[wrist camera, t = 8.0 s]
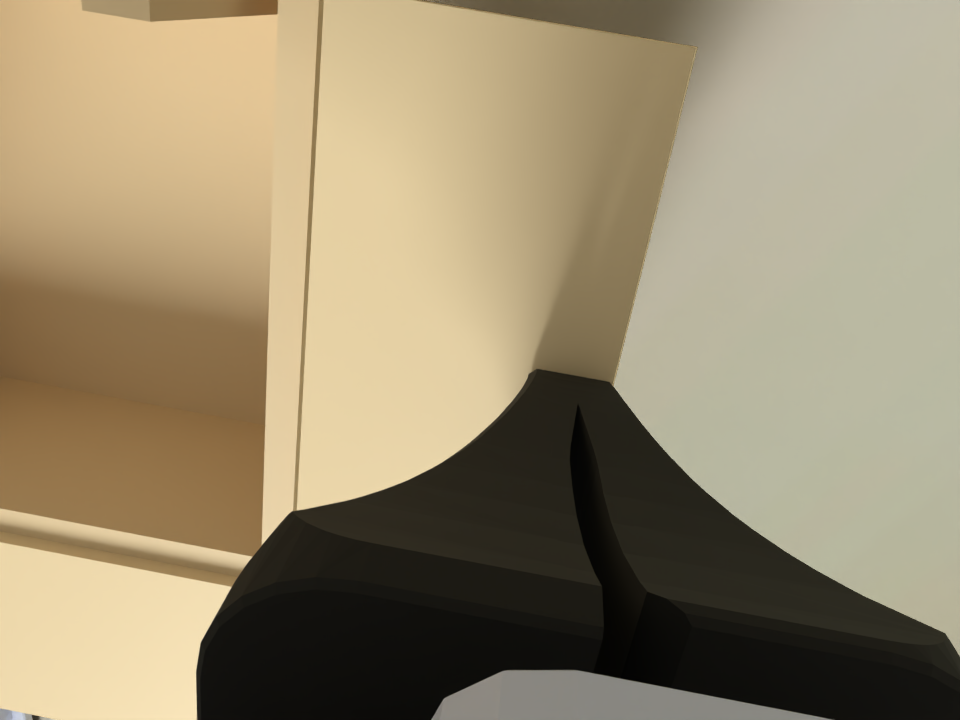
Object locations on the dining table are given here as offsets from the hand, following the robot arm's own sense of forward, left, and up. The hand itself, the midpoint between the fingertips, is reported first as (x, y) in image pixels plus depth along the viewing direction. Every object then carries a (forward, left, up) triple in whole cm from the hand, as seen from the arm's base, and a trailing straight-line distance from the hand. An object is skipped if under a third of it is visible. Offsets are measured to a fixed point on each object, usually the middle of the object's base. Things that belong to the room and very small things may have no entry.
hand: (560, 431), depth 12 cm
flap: (0, +2, 0) cm, 2 cm away
